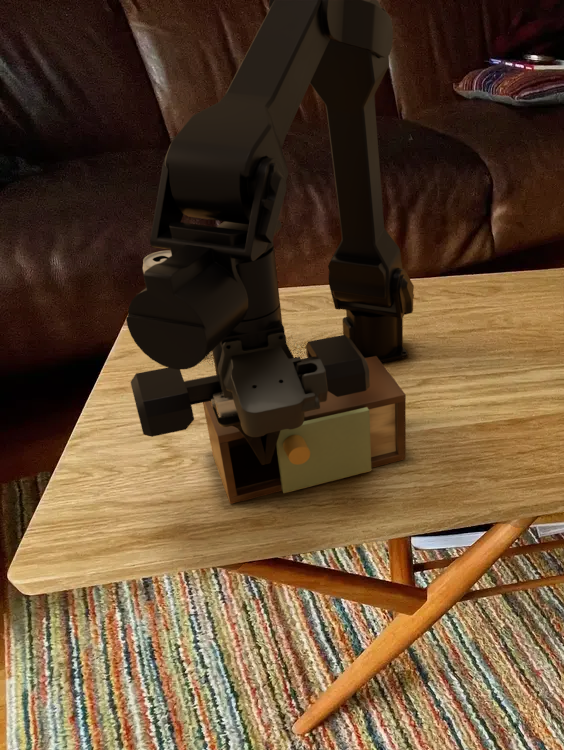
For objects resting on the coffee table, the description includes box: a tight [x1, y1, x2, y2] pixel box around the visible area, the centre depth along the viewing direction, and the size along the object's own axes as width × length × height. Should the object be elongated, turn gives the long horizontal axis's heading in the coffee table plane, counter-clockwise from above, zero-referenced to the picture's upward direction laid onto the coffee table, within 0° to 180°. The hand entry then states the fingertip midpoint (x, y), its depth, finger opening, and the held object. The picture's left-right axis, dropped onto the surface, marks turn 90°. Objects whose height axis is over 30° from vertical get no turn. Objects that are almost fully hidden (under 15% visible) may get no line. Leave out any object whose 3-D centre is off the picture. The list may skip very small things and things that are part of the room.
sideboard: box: [202, 356, 407, 505], centre depth 76 cm, size 18×8×8 cm, turn 115°
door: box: [276, 407, 372, 494], centre depth 72 cm, size 9×3×7 cm, turn 115°
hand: (264, 461), depth 69 cm, fingers closed
